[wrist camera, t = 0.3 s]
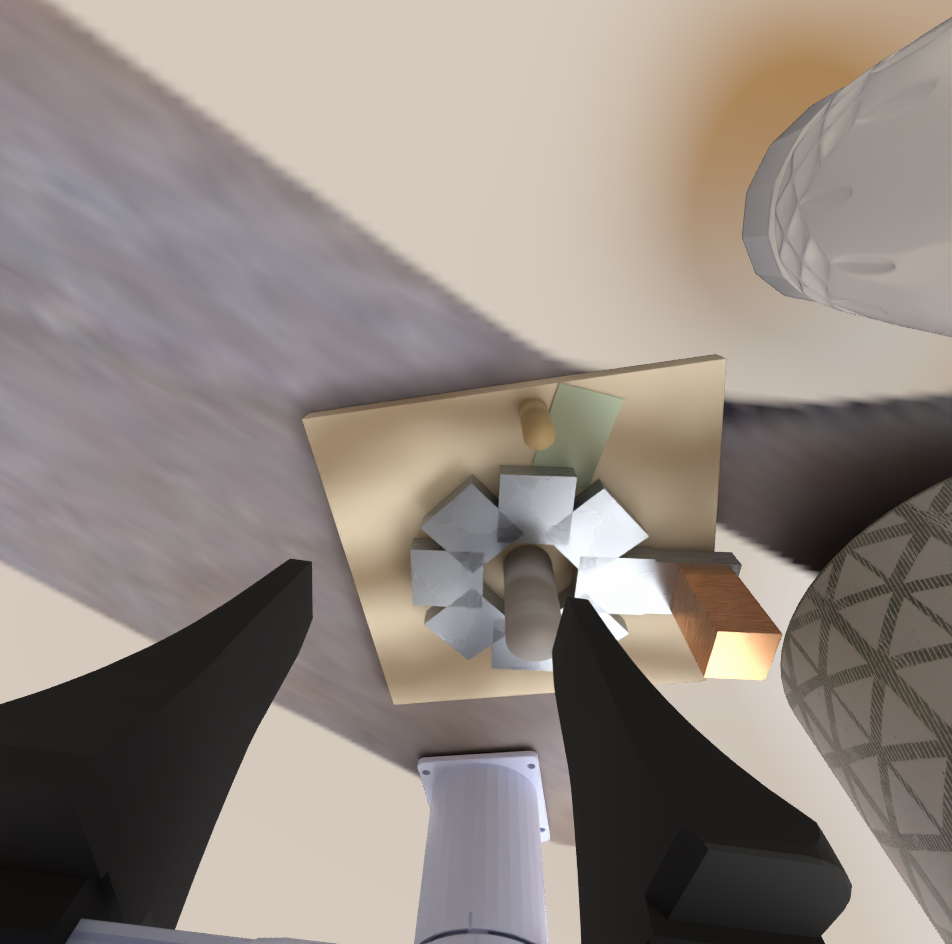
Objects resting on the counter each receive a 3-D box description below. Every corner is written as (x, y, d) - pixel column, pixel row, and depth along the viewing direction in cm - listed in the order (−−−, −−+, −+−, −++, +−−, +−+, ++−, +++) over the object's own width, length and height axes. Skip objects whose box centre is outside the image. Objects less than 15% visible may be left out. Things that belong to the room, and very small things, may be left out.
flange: (418, 650, 25) (401, 735, 21) (410, 461, 21) (386, 518, 16) (698, 663, 25) (744, 753, 20) (754, 473, 20) (829, 534, 16)
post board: (699, 666, 27) (750, 770, 21) (397, 690, 29) (373, 791, 23) (715, 353, 20) (800, 389, 14) (310, 412, 21) (246, 463, 16)
